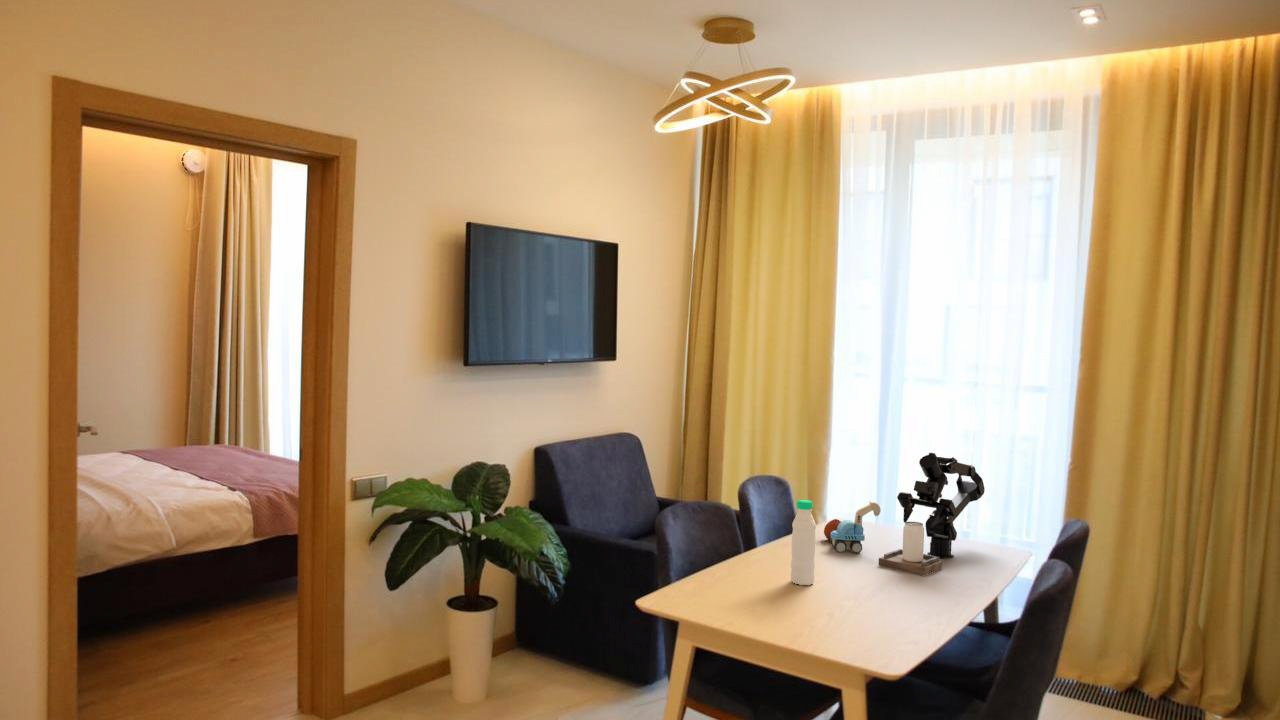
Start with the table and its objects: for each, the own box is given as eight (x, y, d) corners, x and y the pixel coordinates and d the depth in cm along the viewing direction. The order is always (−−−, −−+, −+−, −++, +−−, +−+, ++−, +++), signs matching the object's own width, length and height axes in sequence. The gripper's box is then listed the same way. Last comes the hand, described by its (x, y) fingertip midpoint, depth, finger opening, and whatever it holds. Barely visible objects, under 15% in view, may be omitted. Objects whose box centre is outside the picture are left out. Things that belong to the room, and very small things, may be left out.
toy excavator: (881, 554, 312) (883, 504, 311) (832, 553, 312) (834, 503, 311) (875, 548, 320) (877, 499, 320) (828, 546, 321) (829, 498, 320)
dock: (896, 559, 305) (896, 548, 305) (941, 569, 294) (942, 557, 294) (878, 565, 297) (878, 554, 297) (924, 576, 286) (924, 564, 286)
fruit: (843, 545, 323) (844, 523, 322) (820, 541, 328) (820, 519, 327) (852, 540, 330) (853, 519, 330) (829, 537, 335) (830, 515, 335)
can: (919, 563, 291) (921, 526, 290) (899, 560, 294) (900, 523, 294) (925, 559, 296) (927, 523, 296) (905, 556, 300) (907, 520, 299)
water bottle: (818, 583, 275) (821, 501, 274) (805, 587, 270) (808, 504, 269) (798, 578, 280) (801, 497, 279) (785, 582, 275) (788, 500, 274)
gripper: (900, 468, 307) (883, 504, 300) (953, 475, 294) (936, 514, 287) (911, 488, 313) (894, 525, 306) (963, 496, 301) (947, 535, 293)
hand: (917, 524), depth 298 cm, fingers open, 9 cm apart
